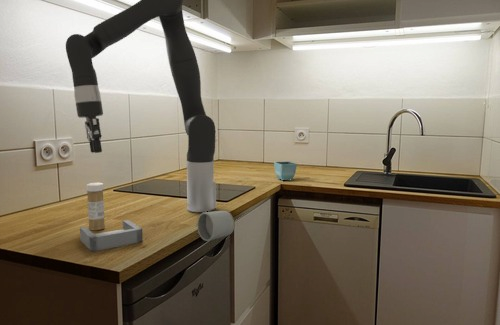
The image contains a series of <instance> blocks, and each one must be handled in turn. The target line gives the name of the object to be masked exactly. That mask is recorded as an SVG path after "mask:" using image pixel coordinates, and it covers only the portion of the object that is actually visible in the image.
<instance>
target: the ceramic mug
mask: <svg viewBox="0 0 500 325" xmlns="http://www.w3.org/2000/svg"><path fill="white" fill-rule="evenodd" d="M235 224H236V222H235V219H234V216H233V215H232V213H231V212H230V211H227V210H215V211H213V210H212V211H208V212H201V214H200V215H198V219H197V223H196V227H197V232H198V234H199V236H200V238H201V239H202V241H206V242H210V241H213V240H214V241H215V240H218V239H220V238H221V239H222V238H225V237H229V236H230V235H231V234H233V232H234V230H235V226H236V225H235Z"/></svg>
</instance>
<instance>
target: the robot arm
mask: <svg viewBox="0 0 500 325" xmlns="http://www.w3.org/2000/svg"><path fill="white" fill-rule="evenodd" d="M183 4H184V0H139V1H137V2H136V3H134V4H132V5H131V6H129V7H128V8H125V9H124V10H122V11H120V12H119V13H117V14H114V15H113V16H111V17H109V18H107V19H105V20H103V21H101V22H100V23H98V24H96V25H95V26H94V27H93V30H92V31H91V32H89V33H88V34H86V35H83V34H79V33H75V34H71V35H70V36H69V37H68V38H67V39H66V42H65V51H66V56H67V60H68V64H69V68H70V70H71V75H72V83H73V87H74V90H73V91H74V93H73V94H74V101H75V106H76V114H77V117H78V118H82V119H83V118H85V119H86V121H84V127H85V134H86V139H87V141H88V142H89V149H90V153H92V154H93V153H95V154H97V153H102V152H103V149H102V144H101V139H102V131H101V126H100V125H101V124H100V119H99V117H101V116H103V114H104V110H103V104H102V98H101V92H100V89H99V83H98V82H99V81H98V76H97V72H96V70H95V68H94V64H93V60H92V59H94V58H95V57H97V56H98V55H99V54H101V53H103V51H104V50H106V49H107V48H108V47H111V46H112V45H114V44H116V43H118V42H120V41H122V40H123V39H125V38H126V37H128V36H130V35H131V34H132V33H134V32H135V31H136V30H138V29H139V28H141V27H142V26H143V25H146V23H148V22H150V21H152V20H153V19H154V20H155V19H156V18H158V19H159V21H160V25H161V27H162V31H163V34H164V41H165V47H166V53H167V54H166V55H167V59H168V60H167V61H168V64H169V68H170V73H171V76H172V80H173V82H174V86H175V89H176V92H177V96H178V98H179V101H180V104H181V109H182V115H183V116H182V117H183V123H184V124H183V126H184V130H185V133H186V135H187V136H188V138H187V139H188V141H187V142H188V146H187V152H186V196H187V197H186V199H187V200H186V208H187V211H188V212H193V213H204V212H207V211H208V212H212V211H213V210H216V209H217V183H216V181H215V180H214V179H215V178H214V173H215V172H214V171H215V170H214V165H215V164H214V161H215V160H214V156H215V153H216V152H215V151H216V125H215V122H214V120H213V119H212V118H211V117H210V116H208V115H207V114H206V111H205V107H204V103H203V100H202V91H201V90H202V88H201V72H200V68H199V64H198V60H197V59H198V58H197V56H196V52H195V49H194V48H193V45H192V42H191V40H190V37H189V35H188V33H187V30H186V27H185V21H184V14H183V6H184V5H183ZM215 208H216V209H215Z"/></svg>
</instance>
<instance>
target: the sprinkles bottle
mask: <svg viewBox="0 0 500 325" xmlns="http://www.w3.org/2000/svg"><path fill="white" fill-rule="evenodd" d="M104 189H105V188H104V183H103V182H90V183H87V184H86V192H87V194H86V195H87V215H88V216H87V217H88V229H89V230H90V231H100V230H101V231H102V230H103V229H105V228H106V226H105V225H106V224H105V200H104Z"/></svg>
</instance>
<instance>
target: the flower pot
mask: <svg viewBox="0 0 500 325" xmlns="http://www.w3.org/2000/svg"><path fill="white" fill-rule="evenodd" d="M297 165H298V164H297V163H296V162H293V161H274V162H273V166H274V174H275V176H276V178H277V180H279V179H281V180H290V179H292V180H293V179H294V177H295V174H296V172H297ZM281 180H280V181H281Z"/></svg>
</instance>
